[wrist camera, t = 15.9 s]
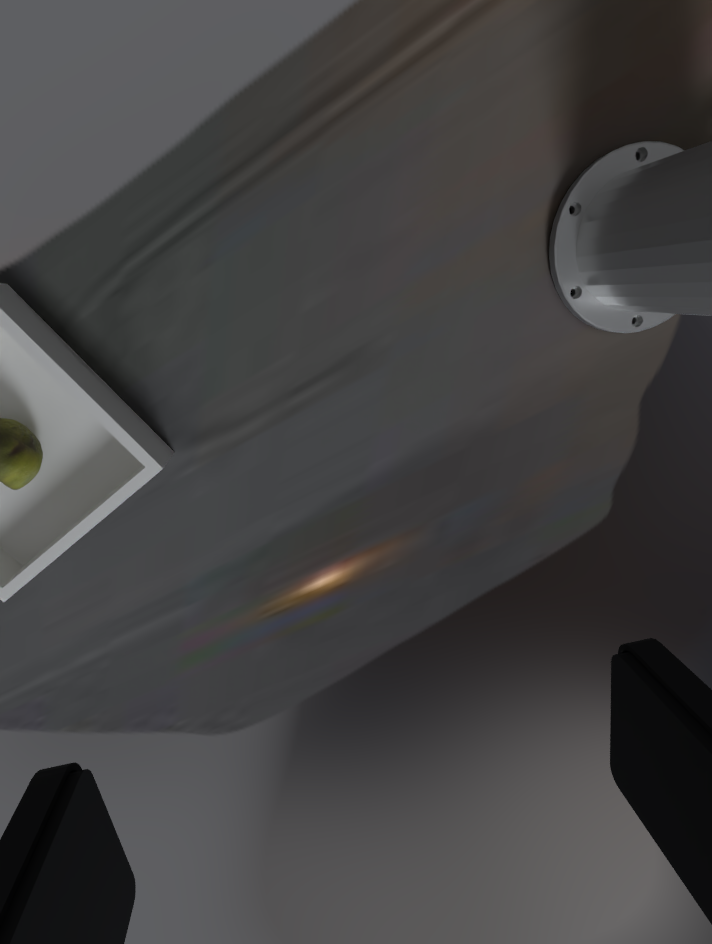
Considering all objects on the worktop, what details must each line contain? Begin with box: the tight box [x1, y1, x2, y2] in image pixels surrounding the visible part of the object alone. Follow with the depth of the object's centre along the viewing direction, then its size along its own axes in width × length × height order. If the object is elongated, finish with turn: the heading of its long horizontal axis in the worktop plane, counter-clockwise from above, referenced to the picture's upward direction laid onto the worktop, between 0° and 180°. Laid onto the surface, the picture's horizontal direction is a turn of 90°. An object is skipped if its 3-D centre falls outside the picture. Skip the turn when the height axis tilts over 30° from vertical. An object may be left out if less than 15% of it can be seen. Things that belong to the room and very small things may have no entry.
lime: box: [0, 418, 43, 490], centre depth 35 cm, size 4×5×5 cm
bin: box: [0, 283, 174, 602], centre depth 36 cm, size 15×15×4 cm
